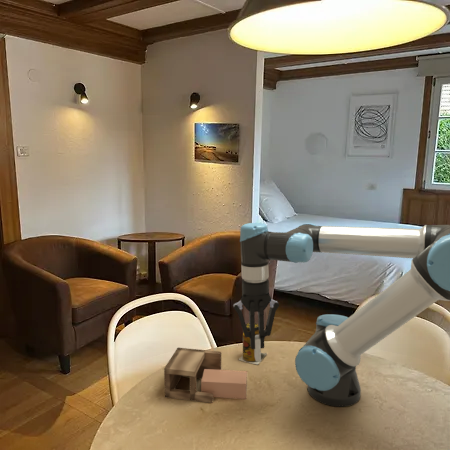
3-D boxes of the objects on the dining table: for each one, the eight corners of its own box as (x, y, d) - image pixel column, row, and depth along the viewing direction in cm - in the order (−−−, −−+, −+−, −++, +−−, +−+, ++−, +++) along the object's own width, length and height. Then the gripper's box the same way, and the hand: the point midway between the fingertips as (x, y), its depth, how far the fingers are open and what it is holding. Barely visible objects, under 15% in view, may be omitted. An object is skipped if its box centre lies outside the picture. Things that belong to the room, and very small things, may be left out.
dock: (221, 378, 130) (221, 351, 129) (212, 402, 118) (212, 373, 116) (178, 373, 133) (177, 347, 131) (164, 397, 120) (164, 368, 119)
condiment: (237, 360, 142) (238, 327, 140) (248, 349, 149) (248, 318, 147) (257, 365, 138) (258, 331, 136) (267, 354, 146) (268, 322, 144)
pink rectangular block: (247, 386, 127) (247, 371, 126) (246, 399, 120) (246, 383, 119) (204, 384, 128) (204, 368, 127) (201, 397, 121) (201, 381, 120)
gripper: (275, 274, 120) (277, 351, 123) (230, 276, 119) (233, 354, 123) (281, 281, 112) (282, 363, 116) (232, 284, 112) (236, 366, 115)
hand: (257, 358), depth 119 cm, fingers closed
